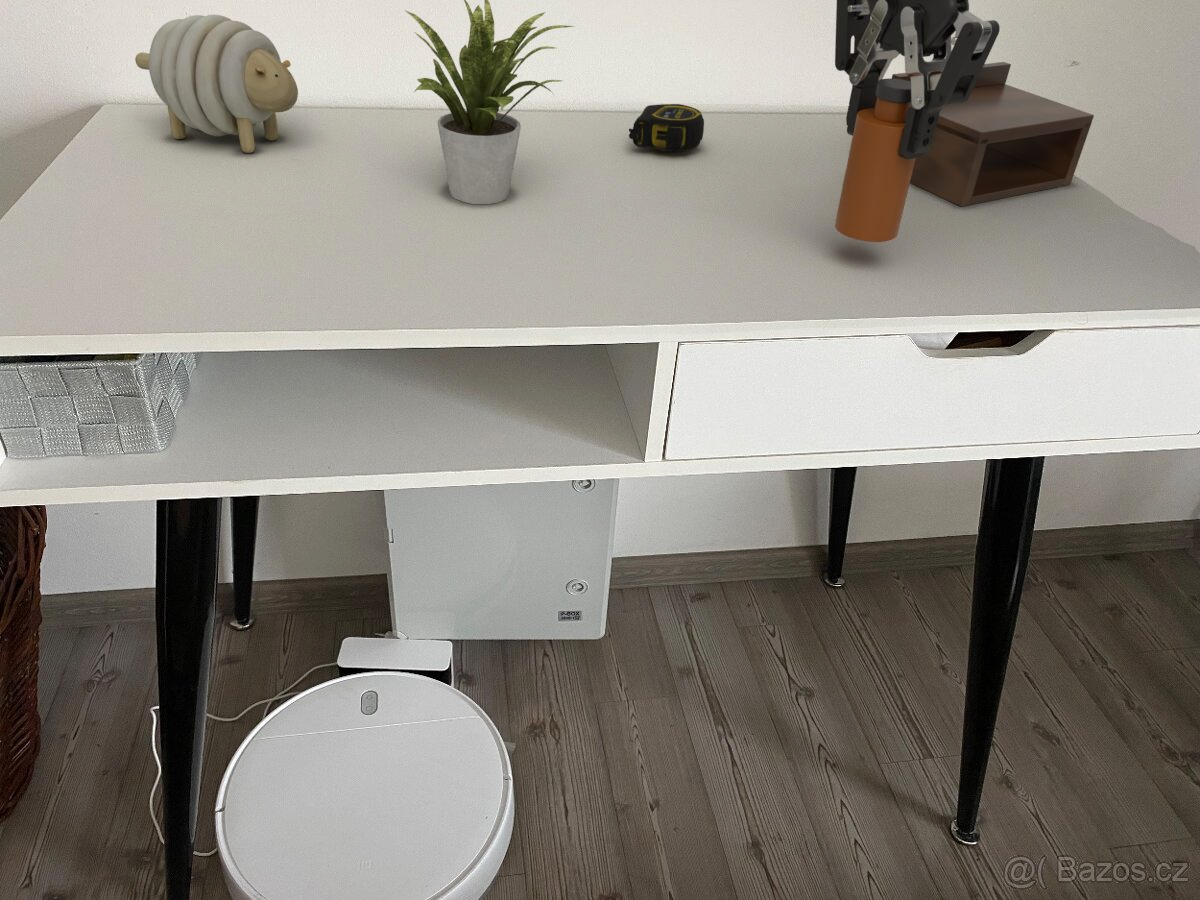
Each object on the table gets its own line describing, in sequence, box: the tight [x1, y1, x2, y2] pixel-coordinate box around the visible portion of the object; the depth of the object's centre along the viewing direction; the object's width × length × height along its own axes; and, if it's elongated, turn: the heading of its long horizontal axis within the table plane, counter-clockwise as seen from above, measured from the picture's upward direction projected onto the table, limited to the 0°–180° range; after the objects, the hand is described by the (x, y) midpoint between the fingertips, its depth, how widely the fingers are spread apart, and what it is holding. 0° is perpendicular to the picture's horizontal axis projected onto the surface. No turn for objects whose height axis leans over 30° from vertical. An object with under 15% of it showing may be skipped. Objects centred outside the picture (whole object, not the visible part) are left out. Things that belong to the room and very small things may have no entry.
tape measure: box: [628, 103, 705, 152], centre depth 102 cm, size 7×7×4 cm
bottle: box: [834, 77, 916, 243], centre depth 78 cm, size 5×5×12 cm
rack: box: [891, 61, 1095, 207], centre depth 100 cm, size 12×16×9 cm
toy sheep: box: [134, 14, 299, 154], centre depth 94 cm, size 11×17×11 cm, turn 75°
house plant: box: [405, 0, 576, 205], centre depth 85 cm, size 14×14×16 cm
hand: (884, 144), depth 78 cm, fingers closed on bottle, 5 cm apart
